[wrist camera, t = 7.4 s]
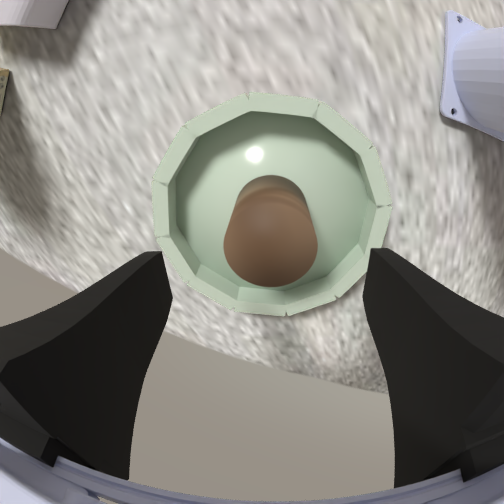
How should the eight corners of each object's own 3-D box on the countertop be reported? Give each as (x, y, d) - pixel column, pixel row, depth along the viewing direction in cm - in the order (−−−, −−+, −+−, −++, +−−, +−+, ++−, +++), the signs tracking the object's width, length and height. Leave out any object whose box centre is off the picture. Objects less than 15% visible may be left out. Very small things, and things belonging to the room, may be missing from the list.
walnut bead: (304, 171, 17) (315, 199, 13) (309, 237, 19) (318, 283, 15) (230, 179, 17) (215, 210, 13) (241, 244, 20) (232, 290, 15)
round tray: (395, 116, 15) (410, 120, 13) (350, 302, 22) (356, 321, 20) (165, 91, 15) (151, 91, 14) (170, 284, 22) (161, 302, 20)
